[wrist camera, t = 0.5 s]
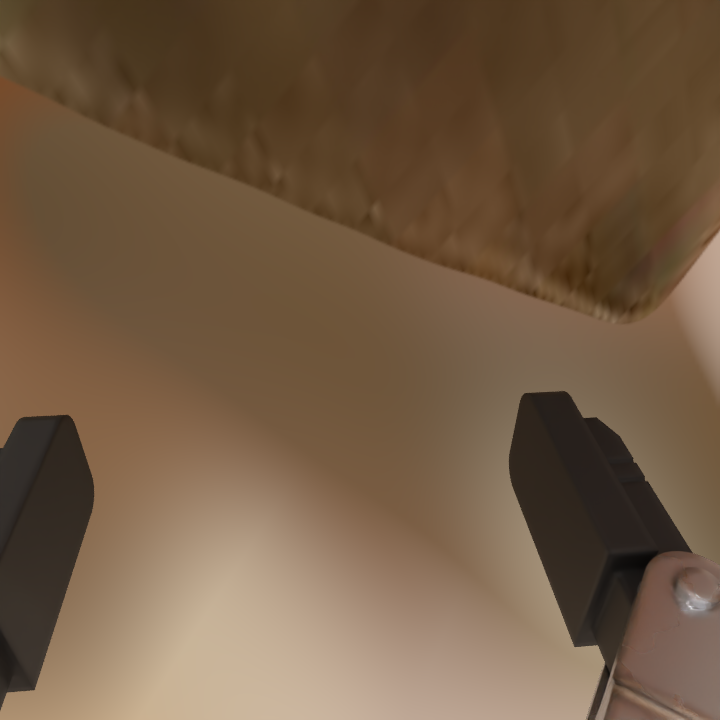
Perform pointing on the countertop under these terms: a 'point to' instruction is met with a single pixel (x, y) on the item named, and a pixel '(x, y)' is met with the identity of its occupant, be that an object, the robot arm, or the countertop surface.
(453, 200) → the countertop surface
